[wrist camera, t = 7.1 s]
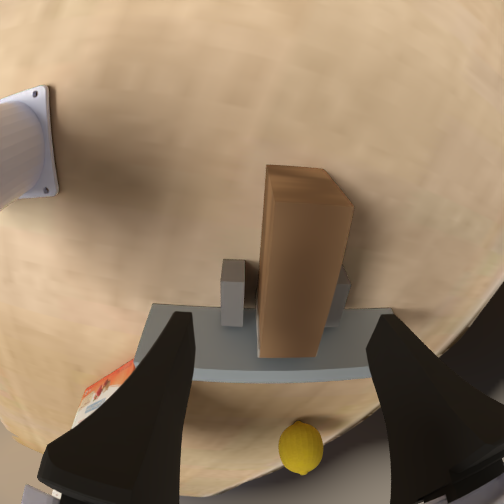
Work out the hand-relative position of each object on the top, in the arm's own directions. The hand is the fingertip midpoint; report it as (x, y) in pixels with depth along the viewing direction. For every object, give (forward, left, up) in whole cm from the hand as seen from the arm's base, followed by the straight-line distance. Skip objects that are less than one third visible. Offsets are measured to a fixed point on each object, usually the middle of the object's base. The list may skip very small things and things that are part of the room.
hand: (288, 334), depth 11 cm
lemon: (+6, -28, -10) cm, 30 cm away
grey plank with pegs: (+1, -5, -10) cm, 11 cm away
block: (+1, -1, -10) cm, 10 cm away
